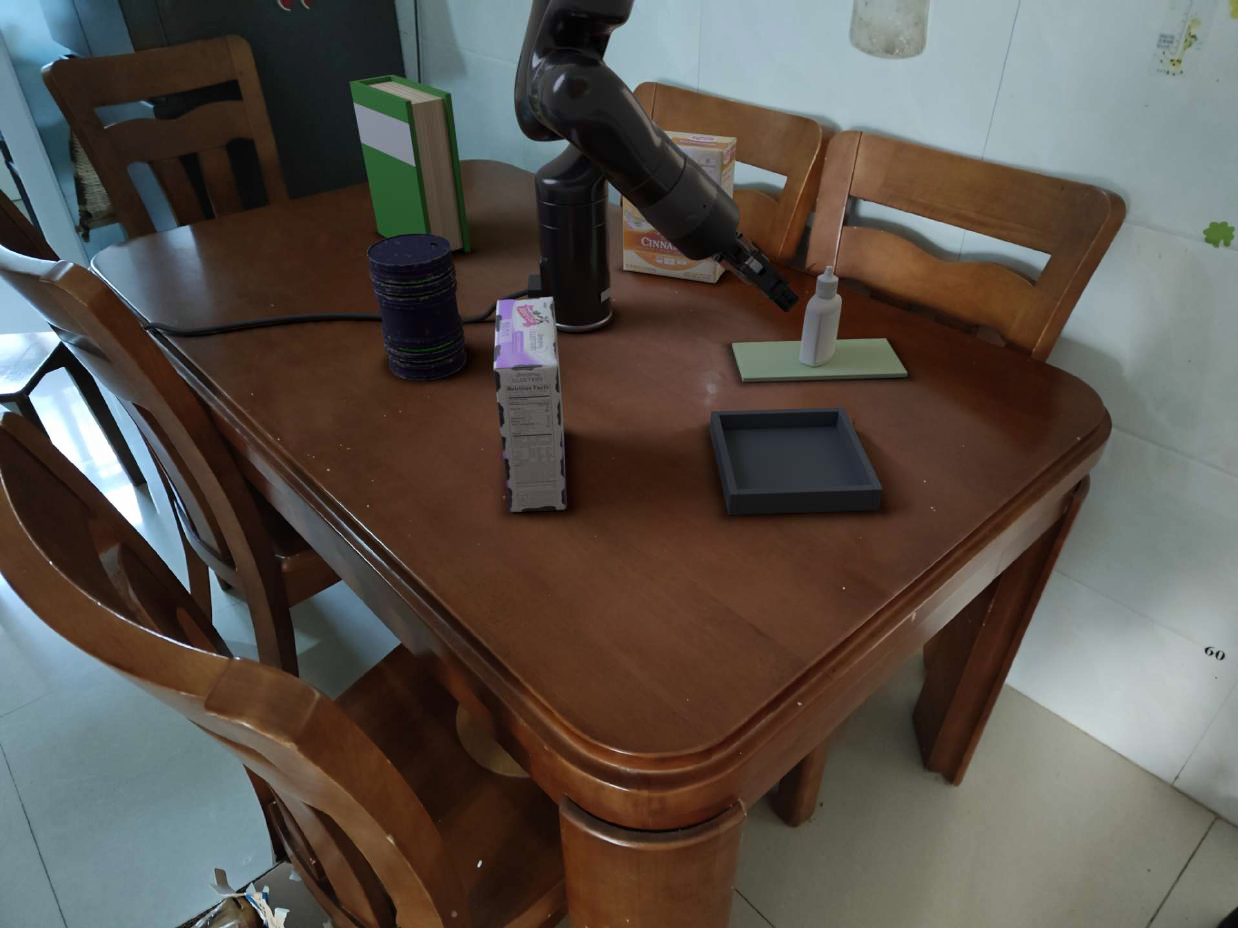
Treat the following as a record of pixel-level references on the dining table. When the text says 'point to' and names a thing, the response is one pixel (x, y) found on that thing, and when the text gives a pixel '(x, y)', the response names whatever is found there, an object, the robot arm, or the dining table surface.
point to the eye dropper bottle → (821, 321)
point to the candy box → (530, 404)
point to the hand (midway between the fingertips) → (771, 290)
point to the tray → (792, 462)
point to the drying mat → (845, 364)
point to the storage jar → (418, 305)
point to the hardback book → (411, 158)
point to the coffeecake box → (655, 251)
